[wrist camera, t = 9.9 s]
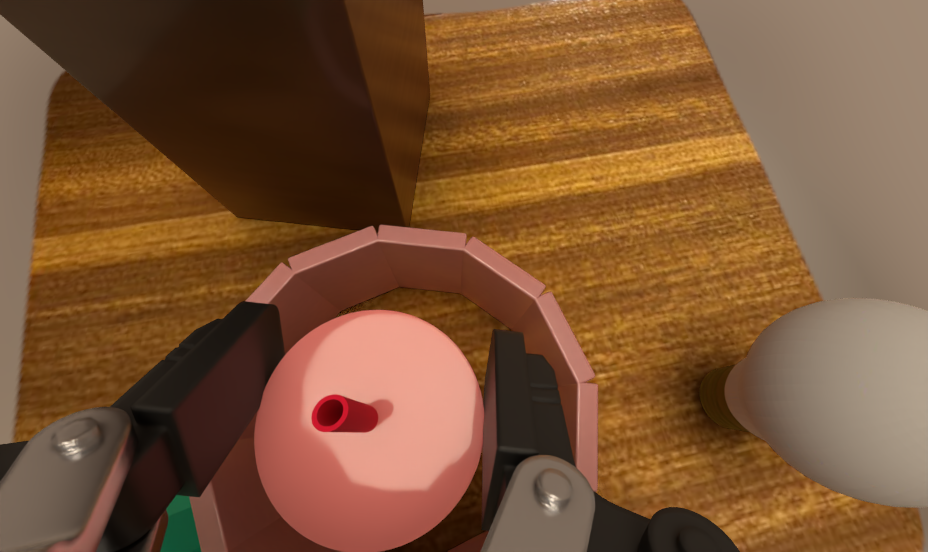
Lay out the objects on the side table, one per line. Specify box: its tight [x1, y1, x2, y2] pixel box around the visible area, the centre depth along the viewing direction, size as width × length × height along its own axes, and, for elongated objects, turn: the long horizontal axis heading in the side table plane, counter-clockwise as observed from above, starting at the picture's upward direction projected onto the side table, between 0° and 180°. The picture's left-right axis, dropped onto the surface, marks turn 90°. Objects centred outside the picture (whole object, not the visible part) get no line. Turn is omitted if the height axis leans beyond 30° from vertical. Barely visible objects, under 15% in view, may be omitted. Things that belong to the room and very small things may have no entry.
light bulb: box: [699, 298, 928, 507], centre depth 14 cm, size 6×6×10 cm
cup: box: [254, 310, 484, 552], centre depth 12 cm, size 5×5×12 cm
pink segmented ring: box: [189, 225, 598, 552], centre depth 16 cm, size 13×13×6 cm
